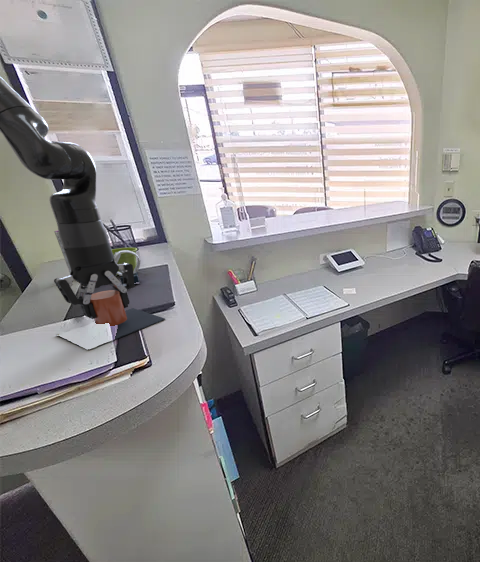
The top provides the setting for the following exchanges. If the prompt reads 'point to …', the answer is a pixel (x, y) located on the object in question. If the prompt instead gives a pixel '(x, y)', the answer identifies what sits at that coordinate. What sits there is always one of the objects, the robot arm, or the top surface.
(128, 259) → the plant pot
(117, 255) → the watch
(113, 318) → the orange cylinder
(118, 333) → the desk mat
